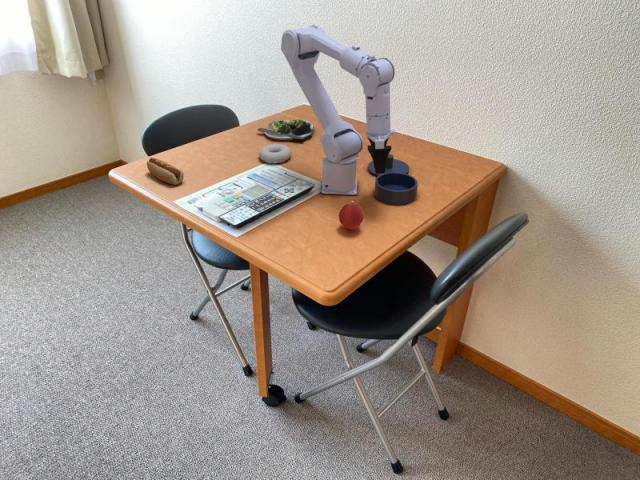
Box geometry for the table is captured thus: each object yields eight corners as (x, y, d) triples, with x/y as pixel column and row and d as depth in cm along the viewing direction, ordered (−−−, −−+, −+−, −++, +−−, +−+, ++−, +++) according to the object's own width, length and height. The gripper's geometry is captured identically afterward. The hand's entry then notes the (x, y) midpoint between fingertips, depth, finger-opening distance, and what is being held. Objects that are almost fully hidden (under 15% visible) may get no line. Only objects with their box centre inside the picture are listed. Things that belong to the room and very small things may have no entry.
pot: (374, 203, 126) (375, 190, 124) (374, 184, 136) (375, 171, 133) (417, 205, 125) (419, 192, 123) (414, 185, 135) (415, 172, 132)
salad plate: (254, 143, 160) (252, 130, 158) (261, 123, 175) (260, 111, 172) (311, 144, 159) (311, 130, 157) (314, 124, 174) (314, 112, 172)
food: (144, 174, 141) (141, 159, 138) (160, 168, 144) (157, 153, 141) (172, 189, 133) (169, 173, 130) (188, 182, 137) (186, 166, 134)
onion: (335, 233, 115) (335, 204, 110) (342, 221, 119) (343, 192, 115) (358, 237, 113) (360, 208, 109) (365, 225, 117) (367, 197, 113)
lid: (367, 178, 138) (368, 164, 136) (367, 160, 148) (368, 146, 146) (410, 180, 137) (411, 165, 135) (407, 162, 148) (409, 148, 145)
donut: (255, 164, 147) (286, 166, 145) (254, 153, 145) (286, 155, 143) (265, 151, 155) (294, 153, 153) (264, 141, 153) (294, 142, 151)
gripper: (396, 120, 107) (397, 177, 114) (393, 104, 120) (394, 156, 126) (365, 122, 108) (367, 179, 114) (365, 106, 120) (367, 158, 127)
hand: (379, 167), depth 120 cm, fingers open, 7 cm apart
